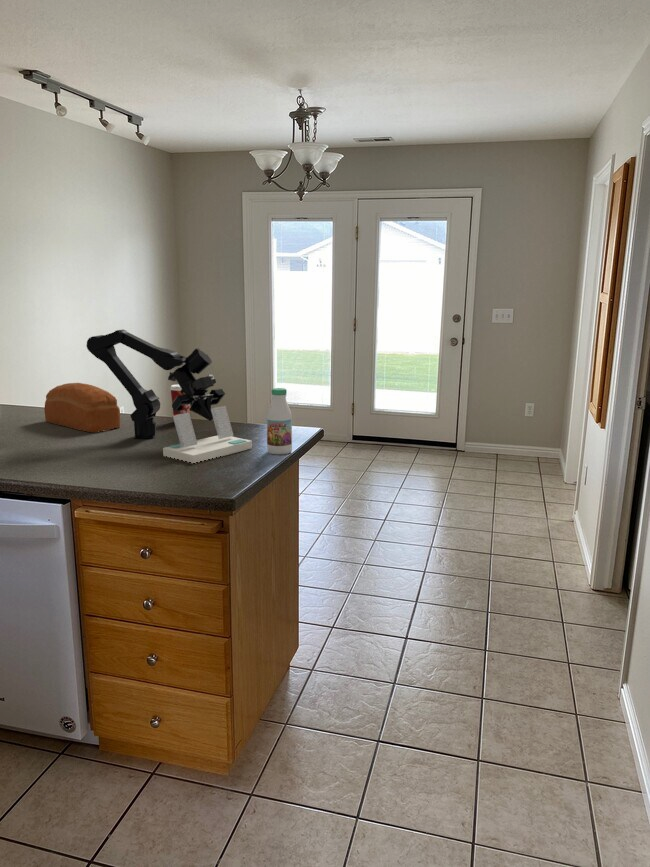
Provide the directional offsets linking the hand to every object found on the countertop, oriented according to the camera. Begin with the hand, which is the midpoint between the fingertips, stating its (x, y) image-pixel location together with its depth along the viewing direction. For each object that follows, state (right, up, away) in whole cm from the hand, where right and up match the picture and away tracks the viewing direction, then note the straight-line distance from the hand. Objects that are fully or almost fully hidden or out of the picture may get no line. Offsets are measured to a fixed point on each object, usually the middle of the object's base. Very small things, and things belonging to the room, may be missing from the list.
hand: (211, 419), depth 212 cm
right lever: (+5, -6, -3) cm, 8 cm away
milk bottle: (+23, -10, -8) cm, 26 cm away
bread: (-53, -1, +31) cm, 62 cm away
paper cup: (-18, 0, +36) cm, 40 cm away
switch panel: (+1, -10, -8) cm, 13 cm away
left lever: (-4, -8, -14) cm, 17 cm away
